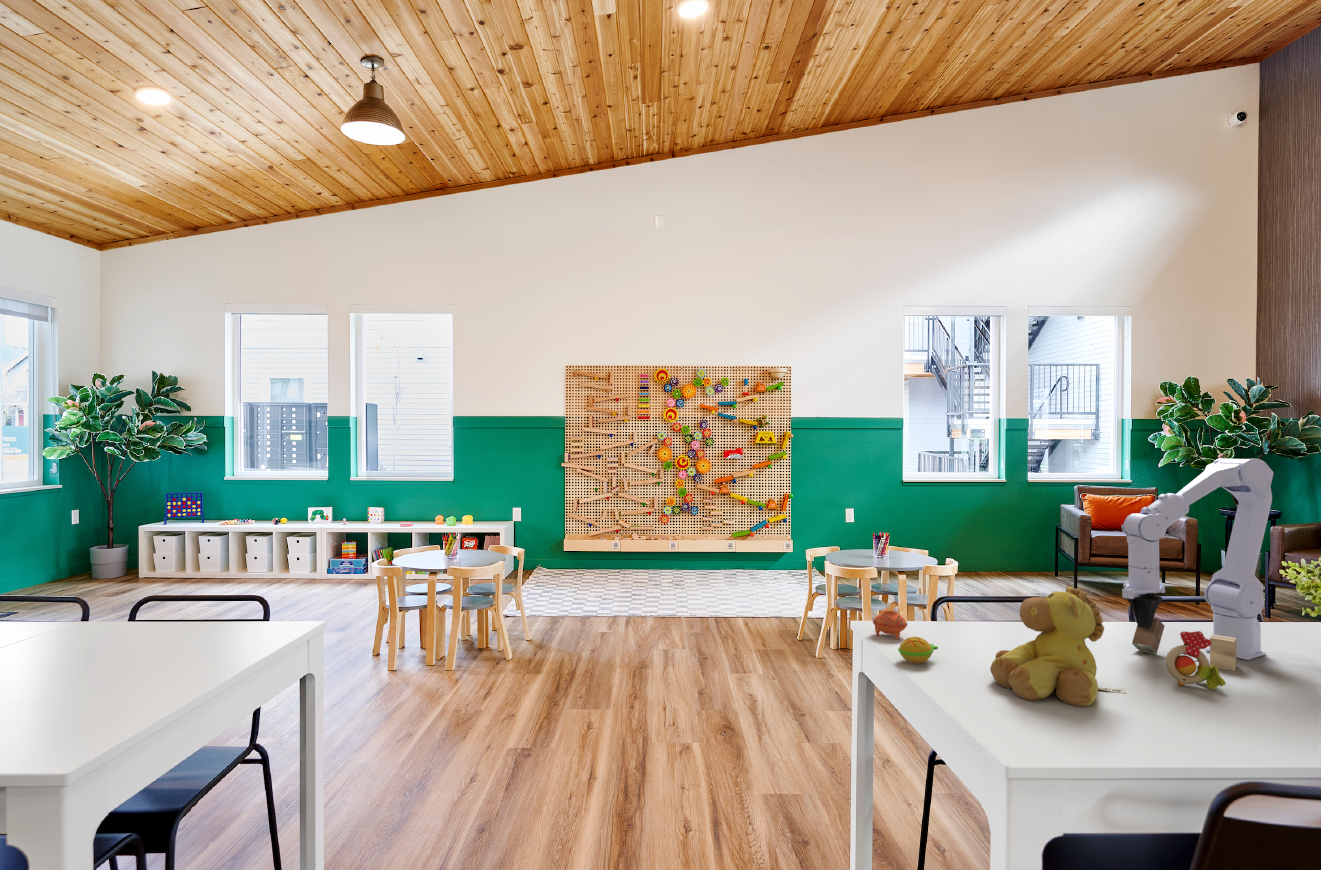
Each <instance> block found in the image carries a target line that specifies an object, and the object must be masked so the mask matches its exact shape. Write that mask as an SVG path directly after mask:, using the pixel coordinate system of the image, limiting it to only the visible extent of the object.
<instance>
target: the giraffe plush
mask: <svg viewBox="0 0 1321 870" xmlns="http://www.w3.org/2000/svg"><path fill="white" fill-rule="evenodd" d="M1019 617H1020V620H1021V621H1022V623H1023V624H1024V626H1025V627H1026V628H1027V629H1030V630H1032V631H1034V632H1040V633H1039V634H1038V635H1037V636H1036V637H1035V639H1034V640H1030V641H1027V642H1026V643H1024V644H1020V645H1018V646H1017V647H1015V648H1013V649H1011V650H1006V649H1003V650H999V651H997V652H996V653H995V658H994V659H993V661H992V662H991V665H990V668H989V669H990V672H991V675H992V677H993V679H994V680H995V682H996V683H997V684H998V685H1000V686H1001V685H1002V687H1003V686H1004V687H1003V688H1005V689H1008V688H1012V689H1011V690H1012V691H1013V692H1014V693H1015V694H1016V695H1017V696H1019V697H1020V698H1022V699H1024V700H1026V699H1027V701H1031V702H1035V701H1039V700H1040V699H1041V700H1043V699H1046V698H1048V697H1049V696H1050V695H1051V694H1052V693H1053V691H1054V690H1056V692H1055V694H1056V697H1058V699H1059V700H1060V701H1062V702H1064V703H1066V704H1068V705H1071V706H1075V707H1080V708H1081V707H1088V706H1090V705H1092V704H1093V703H1094V702H1095V701H1096V698H1097V696H1098V693H1099V691H1103V692H1109V693H1113V692H1114V693H1116V694H1126V695H1127V694H1128V692H1127V691H1126V690H1125V689H1124V688H1122V687H1121V688H1118V687H1117V688H1112V687H1111V688H1110V687H1109V688H1108V687H1101V686H1100V687H1099V685H1098V680H1097V678H1096V675H1097V669H1098V667H1097V663H1096V659H1095V657H1094V655H1093V652H1092V651H1091V650H1090V648H1088V646H1087V644H1086V639H1089V640H1090V641H1091V642H1097V641H1099V640H1100V639H1101V638H1102V636H1103V634H1104V631H1105V626H1104V625H1103V622H1104V620H1103V616H1102V615H1101V612H1100V610H1099V608H1098V607H1097V603H1096V602H1095V601H1094V600H1093V599H1090V598H1088V593H1087V592H1086V591H1084V590H1083V588H1081V587H1078V588H1074V587H1072V586H1067V587H1066V588H1065V591H1052V592H1051V593H1049V594H1048V595H1046V596H1045V597H1041V596H1033V597H1030V598H1025V599H1024V600H1023V601H1022V602H1021V605H1020V607H1019ZM1109 689H1110V690H1109ZM1111 689H1112V691H1111ZM1038 699H1039V700H1038Z"/></svg>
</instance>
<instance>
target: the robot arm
mask: <svg viewBox="0 0 1321 870" xmlns="http://www.w3.org/2000/svg"><path fill="white" fill-rule="evenodd" d="M1273 477H1274V471H1273V470H1272V469H1271V467H1270V466H1269V465H1268V464H1267V463H1266V462H1265V461H1264V460H1262V459H1260V458H1228V457H1227V458H1226V457H1221V458H1220V457H1219V458H1217V459H1216V460H1214V461H1213V462H1212V463H1209V464H1207V465H1206V466H1205V469H1204V470H1203V471H1202V472H1201V473H1200V474H1199V475H1197V476H1196V477H1195V478H1194V479H1193V480H1191V481H1190V482H1189V483H1188V484H1186V485H1185V486H1183V488H1182V489H1180V490H1179V491H1178V492H1176V493H1172V492H1167V493H1161V494H1160V495H1158V496H1157V498H1158V499H1157V500H1155V501H1154V502H1152V503H1151V504H1150V505H1148V506H1144V507H1142V508H1141V509H1140V512H1139V513H1131V514H1129V515H1127V516H1126V518H1125V519H1124V521H1123V524H1121V525H1120V526H1121V530H1122V532H1123V533H1124V535H1125V537H1126V543H1127V544H1128V545H1127V547H1128V553H1127V555H1128V565H1127V566H1128V582H1127V583H1123V584H1122V587H1123V588H1122V589H1121V593H1122V594H1121V595H1122V596H1121V597H1122V598H1123V599H1126V600H1127V601H1128V603H1129V605H1130V607H1131V608H1132V611H1133V614H1134V617H1135V618H1134V619H1135V621H1136V622H1135V623H1136V626H1137V625H1138V627H1141V628H1146V629H1149V628H1151V626H1152V622H1153V619H1154V618H1155V615H1156V612H1157V609H1158V608H1159V606H1160V605H1161V603H1162V601H1163V597H1162V596H1160V595H1155V594H1159V593H1160V594H1164V593H1166V584H1164V583H1160V539H1163V538H1164V537H1165V535H1166V532H1167V529H1168V528H1170V526H1171V525H1173V524H1174V523H1175V522H1177V521H1178V520H1180V519H1182V518H1183V517H1185V516H1186V515H1187V514H1188V513H1189V511H1190V505H1192V504H1194V503H1195V502H1197V501H1198V500H1200V499H1201V498H1204V497H1206V496H1207V495H1208V494H1210V493H1211V492H1213V491H1215V490H1217V489H1218V488H1223V489H1224V490H1226V491H1227V492H1229V493H1230V494H1231V495H1232V496H1234V498H1235V499H1236V500H1237V501H1238V503H1237V508H1236V512H1235V517H1234V520H1233V521H1234V522H1233V525H1232V530H1231V534H1230V538H1229V542H1228V546H1227V550H1226V551H1227V552H1226V555H1225V560H1224V563H1223V567H1221V569H1220V570H1217V571H1216V572H1214V573H1213V574H1212V576H1211V580H1210V582H1209V583H1207V585H1206V587H1205V588H1204V599H1205V602H1206V603H1208V605H1209V606H1210V609H1211V611H1213V613H1212V614H1213V615H1212V617H1213V619H1212V622H1213V623H1212V624H1213V625H1212V626H1213V627H1212V629H1213V634H1212V635H1220V636H1226V637H1233V638H1237V659H1241V660H1245V661H1250V660H1253V659H1256V658H1259V657H1262V656H1265V655H1267V652H1266V651H1262V649H1261V648H1262V646H1261V645H1262V643H1261V641H1262V640H1261V638H1262V635H1261V633H1262V632H1261V631H1262V630H1261V628H1262V626H1261V623H1260V622H1259V620H1258V619H1257V618H1258V615H1259V614H1260V613H1261V612H1262V611H1263V609H1264V606H1265V598H1264V584H1263V583H1262V582H1261V581H1260V580H1259V579H1258V578H1257V576H1256V575H1255V574H1256V570H1257V566H1258V563H1259V557H1260V553H1261V549H1262V545H1263V541H1264V536H1265V533H1266V528H1267V523H1268V519H1269V515H1270V512H1271V511H1270V510H1271V506H1272V503H1273V494H1272V493H1273V492H1272V488H1271V485H1272V481H1273ZM1204 650H1205V651H1206V652H1208V653H1210V647H1206V648H1205V649H1204Z"/></svg>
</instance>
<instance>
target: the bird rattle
mask: <svg viewBox="0 0 1321 870" xmlns="http://www.w3.org/2000/svg"><path fill="white" fill-rule="evenodd" d="M1179 635H1180V638H1181V641H1182V642H1183V644H1182V645H1177V646H1174V647H1173V648H1171V649H1169V651H1168V652H1167V653H1166V655H1165V660H1164V661H1165V662H1164V663H1165V667H1166V669H1167V672H1168V673H1169V675H1171V677H1172V678H1173V679H1174V680H1176V682H1177V685H1179V686H1181V687H1184V686H1186V685H1195V684H1199V683H1202V682H1205V681H1206V685H1207V688H1209V690H1212V691H1213V690H1216V689H1217V688H1218V687H1219V686H1220V687H1223V686H1226V684H1227V682H1226V681H1225V679H1224V678H1223V677H1222V676H1221V675H1220V672H1219V668H1217V667H1216V666H1214V665H1211V666H1210V660H1209V659H1208V657H1207V656H1206V655H1205V653H1204V652H1203V651H1201V650H1205V649H1207V648H1209V647H1210V645H1211V640H1210V638H1209V639H1208V638H1207V637H1205V635H1204V633H1203V632H1202V631H1200V630H1198V631H1191V632H1190V631H1181V632H1180V633H1179ZM1193 658H1194V659H1196V660H1194V659H1193ZM1197 662H1198V664H1197Z"/></svg>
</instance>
